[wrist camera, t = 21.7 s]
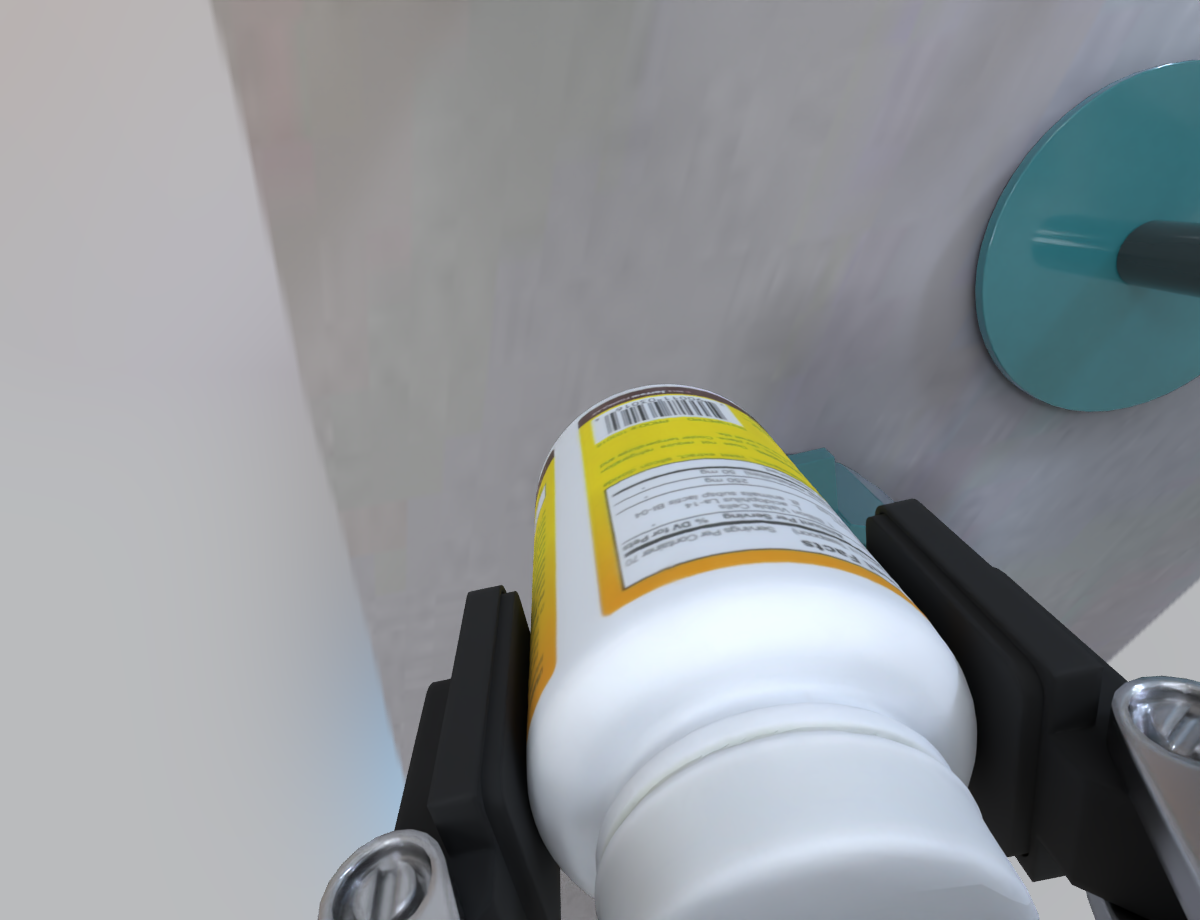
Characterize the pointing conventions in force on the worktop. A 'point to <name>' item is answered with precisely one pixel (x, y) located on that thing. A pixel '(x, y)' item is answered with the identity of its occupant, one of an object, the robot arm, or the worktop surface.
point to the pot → (841, 489)
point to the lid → (1101, 250)
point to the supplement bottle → (739, 689)
